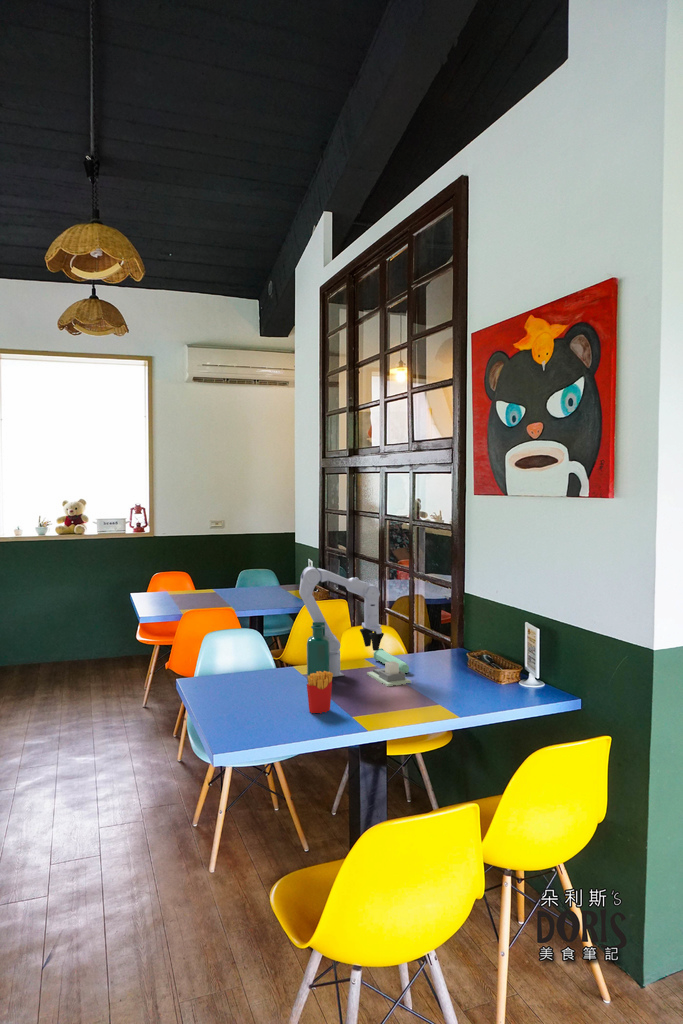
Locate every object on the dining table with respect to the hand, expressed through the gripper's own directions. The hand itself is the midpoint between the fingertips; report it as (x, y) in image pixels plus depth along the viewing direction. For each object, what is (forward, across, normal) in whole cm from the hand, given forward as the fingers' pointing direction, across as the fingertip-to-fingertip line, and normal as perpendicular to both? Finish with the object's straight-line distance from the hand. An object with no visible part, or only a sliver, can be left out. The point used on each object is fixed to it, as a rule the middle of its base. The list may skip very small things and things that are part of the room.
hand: (371, 648), depth 276 cm
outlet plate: (+10, -11, -2) cm, 15 cm away
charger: (+9, -14, -2) cm, 17 cm away
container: (+10, +4, -11) cm, 16 cm away
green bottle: (+10, -3, +24) cm, 26 cm away
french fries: (+10, -36, +36) cm, 52 cm away
